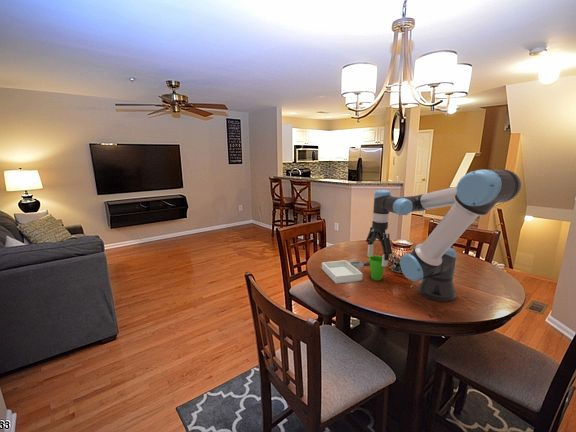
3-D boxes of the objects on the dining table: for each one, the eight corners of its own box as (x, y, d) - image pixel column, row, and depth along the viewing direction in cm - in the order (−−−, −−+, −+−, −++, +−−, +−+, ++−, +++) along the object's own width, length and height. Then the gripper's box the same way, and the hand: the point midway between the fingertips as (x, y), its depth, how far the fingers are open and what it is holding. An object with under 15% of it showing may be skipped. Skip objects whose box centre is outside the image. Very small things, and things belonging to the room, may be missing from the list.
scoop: (368, 263, 170) (369, 259, 170) (373, 266, 165) (373, 262, 165) (349, 265, 167) (350, 261, 167) (353, 268, 162) (354, 264, 162)
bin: (362, 280, 146) (362, 273, 145) (335, 284, 142) (336, 276, 142) (345, 266, 165) (345, 260, 164) (321, 269, 161) (321, 262, 160)
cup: (381, 283, 143) (383, 263, 140) (364, 279, 148) (365, 259, 146) (387, 277, 150) (389, 258, 147) (371, 273, 155) (372, 254, 153)
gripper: (402, 226, 132) (398, 269, 136) (373, 215, 155) (370, 251, 160) (388, 227, 130) (384, 271, 135) (361, 215, 153) (358, 253, 158)
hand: (377, 260), depth 147 cm, fingers open, 13 cm apart
